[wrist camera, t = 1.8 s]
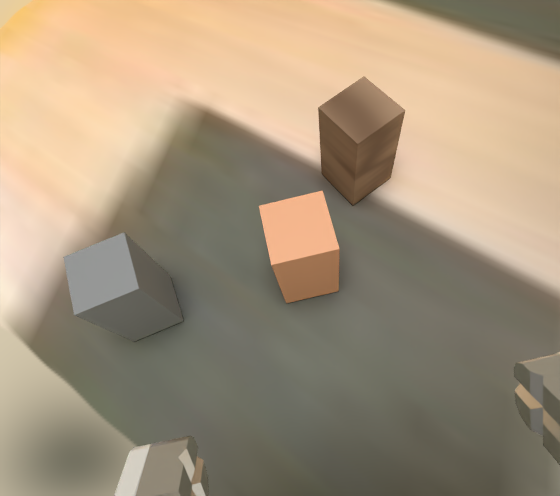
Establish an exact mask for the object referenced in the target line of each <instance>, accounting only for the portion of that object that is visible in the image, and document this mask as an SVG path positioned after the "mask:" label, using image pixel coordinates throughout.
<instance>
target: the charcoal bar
mask: <svg viewBox="0 0 560 496" xmlns="http://www.w3.org/2000/svg"><path fill="white" fill-rule="evenodd" d="M64 262H65V267H66V273H67V278H68V284H69V289H70V294H71V300H72V305H73V311H74V315H75V316H77V317H80V318H82V319H84V320H86V321H89V322H91V323H93V324H95V325H98V326H100V327H102V328H104V329H107V330H109V331H111V332H113V333H116V334H118V335H120V336H122V337H125V338H127V339H129V340H132V341H134V342H135V341H137V340H139V339H142V338H144V337H147V336H149V335H151V334H154V333H156V332H159V331H161V330H163V329H166V328H168V327H171V326H173V325H175V324H178V323H180V322H183V321H184V320H183V317H182V314H181V310H180V307H179V304H178V300H177V297H176V294H175V290H174V287H173V284H172V280H171V277H170V275H169V274H168V273H167V272H166V271H165V270H164V269H163V268H162V267H161V266H159V265H158V264H157V263H156V262H155V261H154V260H153V259H152V258H151V257H150V256H149V255H148V254H147V253H146V252H145V251H144V250H142V249H141V248H140V247H139V246H138V245H137V244H136V243H135V242H134V241H133V240H132V239H131V238H130V237H129V236H128V235H127V234H125V233H122V234H119V235H117V236H114V237H112V238H109V239H107V240H104V241H102V242H99V243H97V244H94V245H92V246H89V247H87V248H85V249H82V250H80V251H77V252H75V253H72V254H70V255H67V256H65V257H64Z"/></svg>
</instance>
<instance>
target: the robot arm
mask: <svg viewBox="0 0 560 496" xmlns="http://www.w3.org/2000/svg"><path fill="white" fill-rule="evenodd" d="M514 377H515V378H516V379H517V380H518V381H519V382H520V384H519V385H518V387H517V388H516V390H515V402H516V405H517V408H518V411H519V414H520V415H521V417H522V419H523V421H524V422H525V424H526V425H527V426H528V427H529V429H530V430H531V431H533V432H536V433H538V434H540V435H542V436H543V446H544V447H545V448H546V449H547V450H548V452H549V453H550V454H551V455H552V456H553V458H554V459H555V460H556V461H557V462H558V464H559V465H560V352H559V353H556V354H552V355H547V356H543V357H539V358H534V359H530V360H526V361H522V362H517V363H516V364H515V367H514ZM197 451H198V446H197V443H196V441H195V439H194V437H192V436H187V437H182V438H177V439H172V440H167V441H162V442H157V443H153V444H149V445H144V446H139V447H134V448H133V449H132V450H131V451H130V452H129V454H128V457H127V460H126V463H125V466H124V469H123V472H122V475H121V478H120V480H119V483H118V486H117V489H116V492H115V495H114V496H208V495H209V484H208V475H207V470H206V466H205V464H204V461H203V460H202V459H200V458H199V457H197Z"/></svg>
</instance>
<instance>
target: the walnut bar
mask: <svg viewBox="0 0 560 496" xmlns="http://www.w3.org/2000/svg"><path fill="white" fill-rule="evenodd" d="M318 111H319V130H320V149H321V168H322V174H323V175H324V176H325V177H326V179H327V180H328V181H329V182H330V183H331V184H332V185H333V186H334V187H335V188H336V189H337V190H338V191H339V192H340V193H341V194H342V195H343V196H344V197H345V198H346V199H347V200H348V201H349V202H350V203H351V204H352V205H354V204H356V203H357V202H358V201H360V200H361V199H362V198H364V197H365V196H366V195H368V194H369V193H371V192H372V191H373V190H375V189H376V188H377V187H379V186H380V185H381V184H383V183H384V182H385V181H387V180H388V179H389V178H391V173H392V169H393V164H394V159H395V155H396V150H397V146H398V141H399V136H400V132H401V127H402V123H403V118H404V113H405V110H404V109H403V108H402V107H401V106H399V105H398V104H397V103H396V102H395V101H393V100H392V99H391V98H390V97H388V96H387V95H386V94H385V93H384V92H382V91H381V90H380V89H379V88H378V87H376V86H375V85H374V84H373V83H371V82H370V81H369V80H368V79H367V78H365V77H362V78H361V79H359V80H358V81H356V82H355V83H354V84H352V85H351V86H349V87H348V88H346V89H345V90H343V91H342V92H340V93H339V94H337V95H336V96H335V97H333V98H332V99H330V100H329V101H327V102H326V103H324V104H323V105H321V106H320V107H318Z"/></svg>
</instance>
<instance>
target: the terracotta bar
mask: <svg viewBox="0 0 560 496" xmlns="http://www.w3.org/2000/svg"><path fill="white" fill-rule="evenodd" d="M259 209H260V213H261V218H262V223H263V228H264V232H265V237H266V242H267V247H268V251H269V256H270V261H271V265H272V268H273V270H274V273H275V276H276V278H277V281H278V283H279V286H280V288H281V291H282V293H283V296H284V299H285V301H286V303H290V302H294V301H298V300H303V299H307V298H311V297H315V296H320V295H324V294H328V293H333V292H337V291H339V246H338V242H337V239H336V236H335V232H334V229H333V225H332V222H331V218H330V215H329V211H328V208H327V204H326V201H325V198H324V194H323V191H319V192H315V193H311V194H306V195H302V196H298V197H294V198H290V199H286V200H282V201H277V202H273V203H269V204H265V205H261V206H259Z"/></svg>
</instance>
